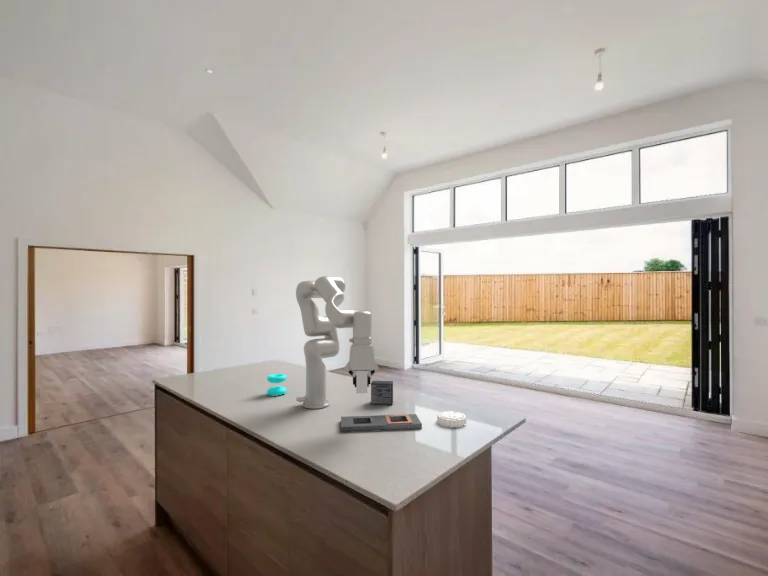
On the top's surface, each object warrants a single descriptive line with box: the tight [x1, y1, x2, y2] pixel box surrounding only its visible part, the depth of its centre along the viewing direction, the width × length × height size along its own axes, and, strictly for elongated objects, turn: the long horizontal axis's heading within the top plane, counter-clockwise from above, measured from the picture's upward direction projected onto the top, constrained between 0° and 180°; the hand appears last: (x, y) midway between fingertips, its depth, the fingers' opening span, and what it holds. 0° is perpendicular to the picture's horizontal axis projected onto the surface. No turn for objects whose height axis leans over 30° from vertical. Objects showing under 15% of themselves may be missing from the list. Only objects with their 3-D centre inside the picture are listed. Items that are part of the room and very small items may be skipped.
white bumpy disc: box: [436, 410, 467, 428], centre depth 158 cm, size 12×12×4 cm
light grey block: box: [355, 370, 368, 394], centre depth 154 cm, size 4×4×9 cm
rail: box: [340, 413, 423, 433], centre depth 155 cm, size 32×12×2 cm, turn 96°
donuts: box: [266, 373, 287, 397], centre depth 201 cm, size 10×10×10 cm
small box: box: [370, 380, 394, 406], centre depth 185 cm, size 11×6×10 cm, turn 84°
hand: (361, 385), depth 154 cm, fingers closed on light grey block, 4 cm apart
